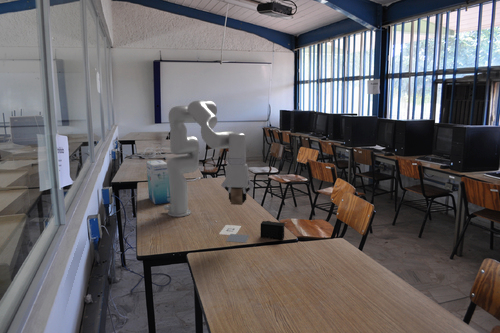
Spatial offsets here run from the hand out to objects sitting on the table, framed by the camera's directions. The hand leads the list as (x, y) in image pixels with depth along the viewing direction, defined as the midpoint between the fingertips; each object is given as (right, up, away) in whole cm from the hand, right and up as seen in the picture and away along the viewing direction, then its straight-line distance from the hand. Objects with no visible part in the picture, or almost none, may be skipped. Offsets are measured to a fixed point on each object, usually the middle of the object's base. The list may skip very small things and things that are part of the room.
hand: (237, 201), depth 168 cm
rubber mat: (0, -17, +3) cm, 18 cm away
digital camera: (+16, -17, +5) cm, 24 cm away
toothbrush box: (-51, -6, +65) cm, 83 cm away
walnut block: (0, -1, 0) cm, 1 cm away
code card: (-4, -15, +14) cm, 21 cm away
